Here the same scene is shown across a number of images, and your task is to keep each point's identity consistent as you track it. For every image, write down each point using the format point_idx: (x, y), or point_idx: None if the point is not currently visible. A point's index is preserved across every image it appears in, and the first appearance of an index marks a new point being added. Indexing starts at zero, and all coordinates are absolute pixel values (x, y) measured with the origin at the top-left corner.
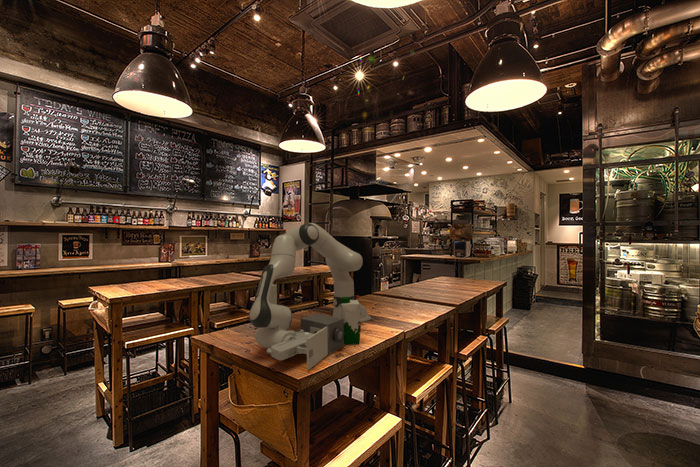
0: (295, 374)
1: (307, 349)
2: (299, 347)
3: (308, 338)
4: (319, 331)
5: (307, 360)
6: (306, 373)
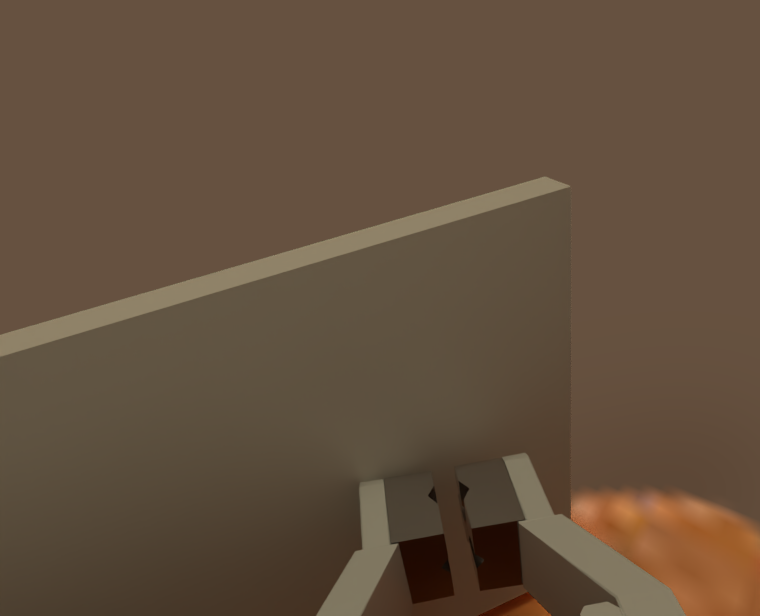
0: (754, 602)
1: (561, 352)
2: (628, 603)
3: (529, 188)
4: (50, 330)
5: (565, 480)
6: (603, 538)
